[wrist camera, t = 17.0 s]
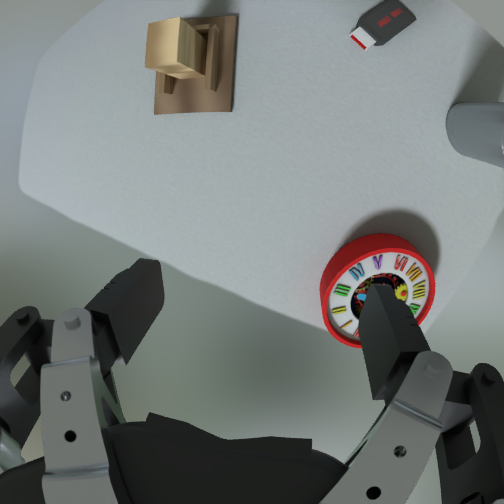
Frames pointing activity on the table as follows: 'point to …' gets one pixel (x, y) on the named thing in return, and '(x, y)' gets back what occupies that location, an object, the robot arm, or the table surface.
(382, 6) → the usb drive
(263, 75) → the table surface
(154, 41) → the oak plank
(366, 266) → the toy clock
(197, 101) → the groove board
